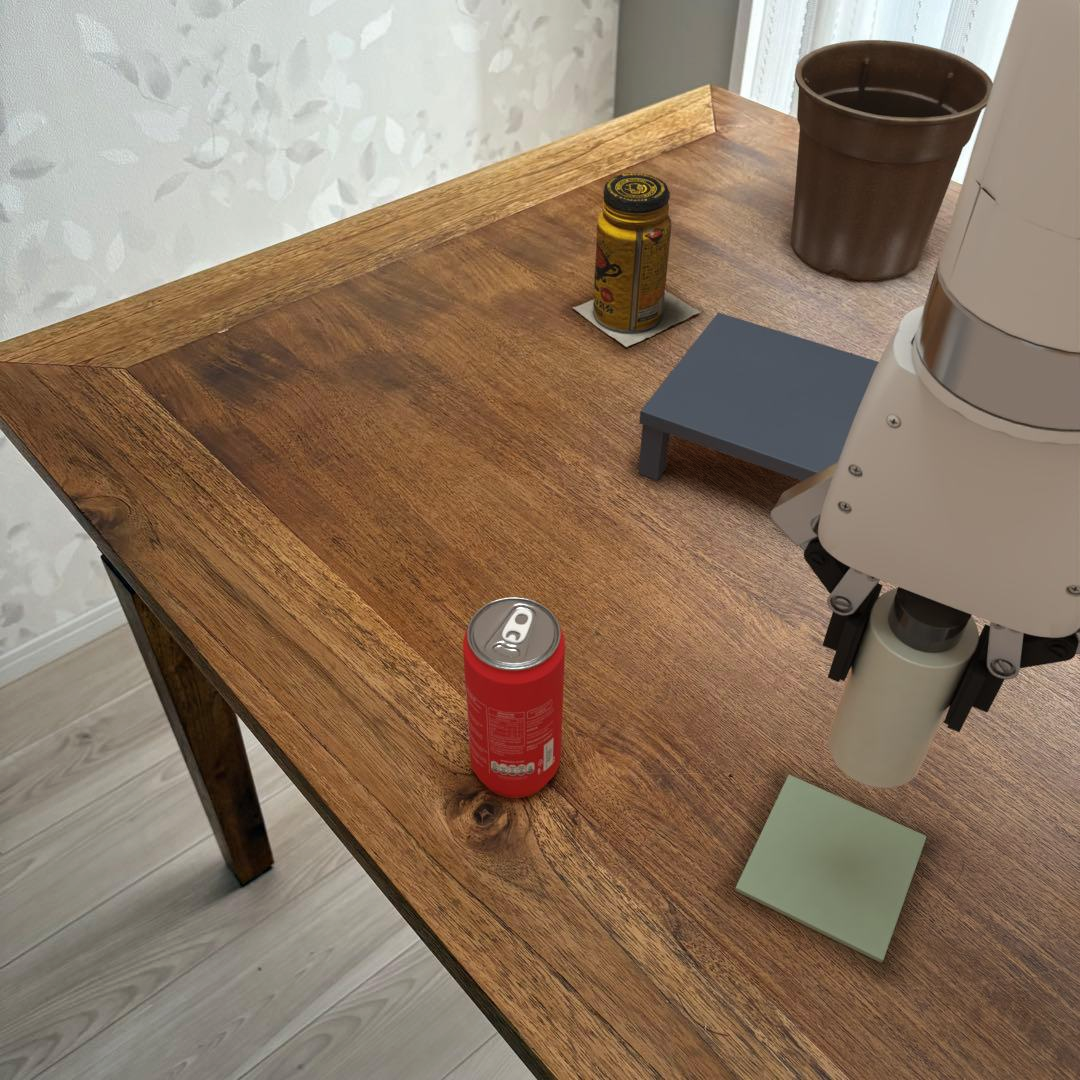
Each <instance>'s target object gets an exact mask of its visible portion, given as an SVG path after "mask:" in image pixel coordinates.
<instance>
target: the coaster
mask: <svg viewBox="0 0 1080 1080" xmlns="http://www.w3.org/2000/svg"><path fill="white" fill-rule="evenodd" d="M927 837H928V836H927V835H926V834H923V833H920V832H918V831H917V830H914V829H912V828H909V827H907V826H905V825H903V824H900V823H898V822H896V821H894V820H892V819H889V818H887V817H886V816H883V815H880V814H878V813H876V812H874V811H872V810H869V809H868V808H865V807H863V806H860V805H859V804H856V803H854V802H852V801H849V800H847V799H845V798H843V797H840V796H839V795H836V794H834V793H833V792H832V793H831V792H829V791H827V790H825V789H822V788H820V787H818V786H816V785H814V784H812V783H809V782H807V781H805V780H802V779H800V778H798V777H796V776H794V775H791V774H788V775H787V777H786V778H785V781H784V783H783V784H782V787H781V790H780V791H779V794H778V796H777V797H776V800H775V802H774V804H773V807H772V808H771V810H770V813H769V815H768V817H767V820H766V821H765V823H764V826H763V828H762V830H761V832H760V834H759V836H758V838H757V841H756V843H755V844H754V846H753V849H752V851H751V853H750V856H749V858H748V860H747V862H746V864H745V866H744V868H743V870H742V872H741V875H740V876H739V878H738V881H737V883H736V885H735V888H734V891H735V892H737V893H739V894H740V895H742V896H744V897H747V898H749V899H750V900H752V901H754V902H757V903H758V904H760V905H763V906H764V907H767V908H768V909H771V910H773V911H775V912H777V913H779V914H781V915H782V916H784V917H787V918H789V919H791V920H793V921H795V922H797V923H799V924H801V925H803V926H805V927H807V928H809V929H811V930H813V931H815V932H818V933H819V934H821V935H823V936H825V937H828V938H829V939H831V940H833V941H836V942H837V943H839V944H841V945H844V946H846V947H848V948H849V949H852V950H854V951H856V952H858V953H860V954H862V955H865V956H866V957H868V958H870V959H872V960H874V961H875V962H877V963H880V964H883V963H884V960H885V957H886V955H887V951H888V949H889V946H890V942H891V940H892V937H893V935H894V932H895V928H896V927H897V923H898V921H899V917H900V914H901V912H902V910H903V909H902V908H903V906H904V903H905V901H906V897H907V894H908V891H909V889H910V885H911V884H912V881H913V878H914V875H915V873H916V869H917V866H918V863H919V860H920V857H921V854H922V852H923V849H924V847H925V843H926V840H927Z"/></svg>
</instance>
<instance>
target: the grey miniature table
mask: <svg viewBox="0 0 1080 1080" xmlns="http://www.w3.org/2000/svg"><path fill="white" fill-rule="evenodd" d="M878 362H879V360H874V359H871V358H868V357H865V356H862V355H859V354H858V355H857V354H856V353H852V352H848V351H846V350H843V349H839V348H835V347H833V346H830V345H825V344H824V343H823V344H822V343H819V342H816V341H812V340H809V339H806V338H803V337H800V336H797V335H793V334H789V333H786V332H784V331H781V330H777V329H774V328H770V327H767V326H765V325H762V324H761V325H760V324H758V323H754V322H751V321H748V320H745V319H742V318H738V317H735V316H731V315H728V314H724V313H721V312H717V313H716V315H715V316H714V317H713V318H712V319H711V321H710V322H709V323H708V325H707V326H706V327H705V328H704V330H703V331H702V332H701V334H700V335H699V336H698V337H697V338H696V340H695V341H694V342H693V343H692V345H691V346H690V347H689V349H688V350H687V351H686V353H684V355H683V356H682V357H681V358H680V360H679V361H678V363H677V364H676V365H675V366H674V368H672V370H671V372H670V373H669V374H668V375H667V376H666V378H665V379H664V380H663V382H662V383H661V384H660V385H659V387H658V388H657V389H656V391H655V392H654V393H653V394H652V396H651V397H650V398H649V399H648V400H647V402H646V403H645V404H644V405H643V406H642V408H641V409H640V412H639V422H638V423H639V424H640V425H642V427H641V440H640V448H639V457H638V458H639V460H638V468H637V474H638V475H642V476H644V477H647V478H649V479H651V480H654V481H658V480H659V479H660V478H661V476H662V475H663V474H664V472H665V471H666V469H667V466H668V465H667V464H668V455H669V448H670V439H671V436H674V437H676V438H679V439H682V440H684V441H688V442H691V443H694V444H696V445H700V446H701V447H704V448H708V449H710V450H713V451H717V452H718V453H722V454H724V455H727V456H729V457H733V458H736V459H738V460H742V461H744V462H747V463H750V464H753V465H755V466H758V467H762V468H764V469H767V470H770V471H773V472H776V473H778V474H781V475H784V476H787V477H790V478H792V479H795V480H797V481H800V482H802V481H804V480H806V479H808V478H809V477H811V476H813V475H815V474H816V473H818V472H820V471H822V470H824V469H825V468H827V467H829V466H831V465H832V464H834V463H836V462H838V461H839V458H840V455H841V453H842V450H843V447H844V444H845V442H846V439H847V436H848V434H849V431H850V429H851V426H852V423H853V421H854V418H855V416H856V413H857V411H858V408H859V406H860V404H861V401H862V399H863V397H864V394H865V392H866V390H867V387H868V385H869V383H870V380H871V378H872V375H873V373H874V370H875V368H876V366H877V364H878Z"/></svg>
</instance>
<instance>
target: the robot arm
mask: <svg viewBox="0 0 1080 1080" xmlns="http://www.w3.org/2000/svg"><path fill="white" fill-rule="evenodd" d="M992 82H993V86H992V89H991V92H990V95H989V99H988V102H987V105H986V107H985V108H984V112H983V115H982V117H981V121H980V125H979V128H978V130H977V131H978V132H977V134H976V137H975V141H974V145H973V148H972V150H971V153H970V157H969V162H968V165H967V167H966V172H965V176H964V178H963V182H962V184H961V188H960V191H959V194H958V197H957V201H956V204H955V207H954V210H953V213H952V216H951V219H950V223H949V226H948V229H947V232H946V236H945V239H944V241H943V245H942V248H941V251H940V255H939V257H938V261H937V264H936V266H935V270H934V274H933V277H932V280H931V282H930V286H929V290H928V293H927V296H926V299H925V302H924V304H923V305H921V306H917V307H915V308H913V309H911V310H910V311H908V312H907V313H906V314H905V315H904V316H903V317H902V318H901V320H900V322H899V323H898V325H897V327H896V328H895V329H894V332H893V333H892V335H891V337H890V338H889V340H888V342H887V344H886V345H885V348H884V350H883V352H882V355H880V358H879V360H878V364H877V366H876V368H875V370H874V373H873V375H872V378H871V380H870V383H869V385H868V387H867V390H866V392H865V394H864V397H863V399H862V401H861V404H860V406H859V408H858V411H857V413H856V416H855V418H854V421H853V423H852V426H851V429H850V431H849V434H848V436H847V439H846V442H845V444H844V447H843V450H842V453H841V455H840V458H839V461H838V462H836V463H834V464H832V465H831V466H829V467H827V468H825V469H824V470H822V471H820V472H818V473H816V474H815V475H813V476H811V477H809V478H808V479H806V480H804V481H800V482H799V483H796V484H795V485H793V486H791V487H790V488H788V489H786V490H784V491H783V492H782V493H781V494H780V496H779V497H778V499H777V501H776V502H775V504H774V506H773V508H772V509H771V511H770V514H769V515H770V520H771V521H772V522H773V523H774V525H775V526H776V527H777V528H778V529H779V530H780V531H781V532H782V533H783V534H784V535H785V536H786V537H787V538H788V539H789V540H790V541H791V542H792V544H794V546H795V547H797V548H798V547H799V548H800V549H801V550H803V559H804V560H805V562H806V563H807V565H808V566H809V568H810V569H811V570H812V572H813V573H814V574H815V575H816V577H817V578H818V580H819V582H821V584H822V585H823V587H824V588H825V590H827V592H828V593H829V595H828V597H827V599H826V604H827V606H828V608H829V609H830V610H831V611H832V613H831V616H830V620H829V623H828V625H827V629H826V632H825V635H824V639H823V642H822V647H825V648H827V649H830V650H832V651H834V652H835V653H834V657H833V659H832V662H831V666H830V668H829V671H828V675H827V679H830V680H832V681H835V682H837V683H839V682H840V681H843V682H846V680H847V677H848V674H849V671H850V668H851V666H852V663H853V660H854V657H855V654H856V651H857V649H858V646H859V643H860V640H861V637H862V634H863V631H864V628H865V626H866V623H867V620H868V617H869V614H870V611H871V609H872V607H873V605H874V603H875V601H876V600H877V599H878V598H879V597H880V596H881V595H880V594H881V592H882V588H883V586H884V584H881V583H880V581H883V582H884V583H888V584H890V585H892V586H895V587H897V588H898V587H900V588H903V589H905V590H908V591H911V592H913V593H916V594H918V595H921V596H924V597H926V598H929V599H931V600H934V601H937V602H939V603H942V604H945V605H947V606H950V607H953V608H955V609H958V610H961V611H963V612H966V613H969V614H971V615H972V616H974V617H977V618H980V619H982V620H985V621H988V622H990V623H989V624H986V623H985V624H984V625H983V628H982V629H981V632H980V634H979V643H978V646H977V648H976V651H975V653H974V655H973V658H972V660H971V662H970V664H969V666H968V668H967V670H966V673H965V675H964V677H963V679H962V681H961V683H960V685H959V687H958V690H957V692H956V694H955V696H954V698H953V700H952V702H951V704H950V707H949V709H948V711H947V713H946V715H945V717H944V719H943V723H944V724H946V725H947V726H946V728H948V729H950V730H952V731H954V732H957V733H960V732H961V731H962V728H963V727H964V724H965V722H966V720H967V719H968V716H969V714H970V712H971V710H972V708H975V709H977V710H978V711H979V710H980V711H982V712H984V713H989V711H990V709H991V707H992V705H993V703H994V702H995V699H996V697H997V695H998V694H999V692H1000V689H1001V687H1002V686H1003V684H1004V681H1006V680H1012V679H1015V678H1016V677H1018V676H1019V673H1020V671H1021V669H1025V668H1031V667H1038V666H1044V665H1050V664H1056V663H1061V662H1067V661H1070V660H1072V659H1074V658H1075V656H1076V655H1080V0H1018V2H1017V4H1016V8H1015V11H1014V14H1013V18H1012V20H1011V25H1010V28H1009V30H1008V34H1007V37H1006V40H1005V44H1004V47H1003V51H1002V53H1001V57H1000V60H999V63H998V66H997V70H996V73H995V76H994V79H993V81H992Z"/></svg>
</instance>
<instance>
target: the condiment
mask: <svg viewBox="0 0 1080 1080" xmlns="http://www.w3.org/2000/svg"><path fill="white" fill-rule="evenodd" d="M602 193H603V201H602V204H601V208H602V211H601V212H600V213H599V215H598V218H597V225H596V245H595V246H596V247H595V259H594V260H595V261H594V264H595V266H594V283H593V299H591V300H588V301H586V302H584V303H582V304H579V305H576V306H572V309H573V310H574V311H576V313H577V312H578V313H579V314H580V315H581V316H583V317H584V319H586V320H587V321H589V322H590V323H591V324H593V325H594V327H597V328H598V329H600V330H601V331H602V332H604V333H605V334H606V335H608V336H609V337H611V338H613V339H615V341H617V342H618V343H620V344H622V345H623V346H624V347H625V348H628V347H629V346H632V345H634V344H637V343H640V342H642V341H644V340H646V339H647V338H651V337H653V336H655V335H657V334H659V333H661V332H663V331H664V330H667V329H668V328H669V327H672V326H675V325H677V324H679V323H681V322H684V321H685V320H688V319H689V318H691V317H693V316H695V315H697V314H700V313H701V310H698V309H697V308H695V307H692V306H691V305H689V304H688V303H686V302H685V301H683V300H681V299H679V298H678V297H677V296H675V295H674V294H672V293H671V292H668V291H667V290H666V284H667V273H668V265H669V254H670V247H671V235H672V220H671V217H670V215H669V212H670V211H669V210H670V203H669V201H670V197H671V195H670V194H671V192H670V190H669V188H668V185H667V183H666V182H664V181H663V180H662V179H660V178H658V177H656V176H653V175H651V174H646V173H638V172H630V173H624V174H623V173H622V174H618V175H616V176H614V177H612V178H611V179H609V180H608V181H607V182H606V183H605V184H604V187H603V191H602Z"/></svg>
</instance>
